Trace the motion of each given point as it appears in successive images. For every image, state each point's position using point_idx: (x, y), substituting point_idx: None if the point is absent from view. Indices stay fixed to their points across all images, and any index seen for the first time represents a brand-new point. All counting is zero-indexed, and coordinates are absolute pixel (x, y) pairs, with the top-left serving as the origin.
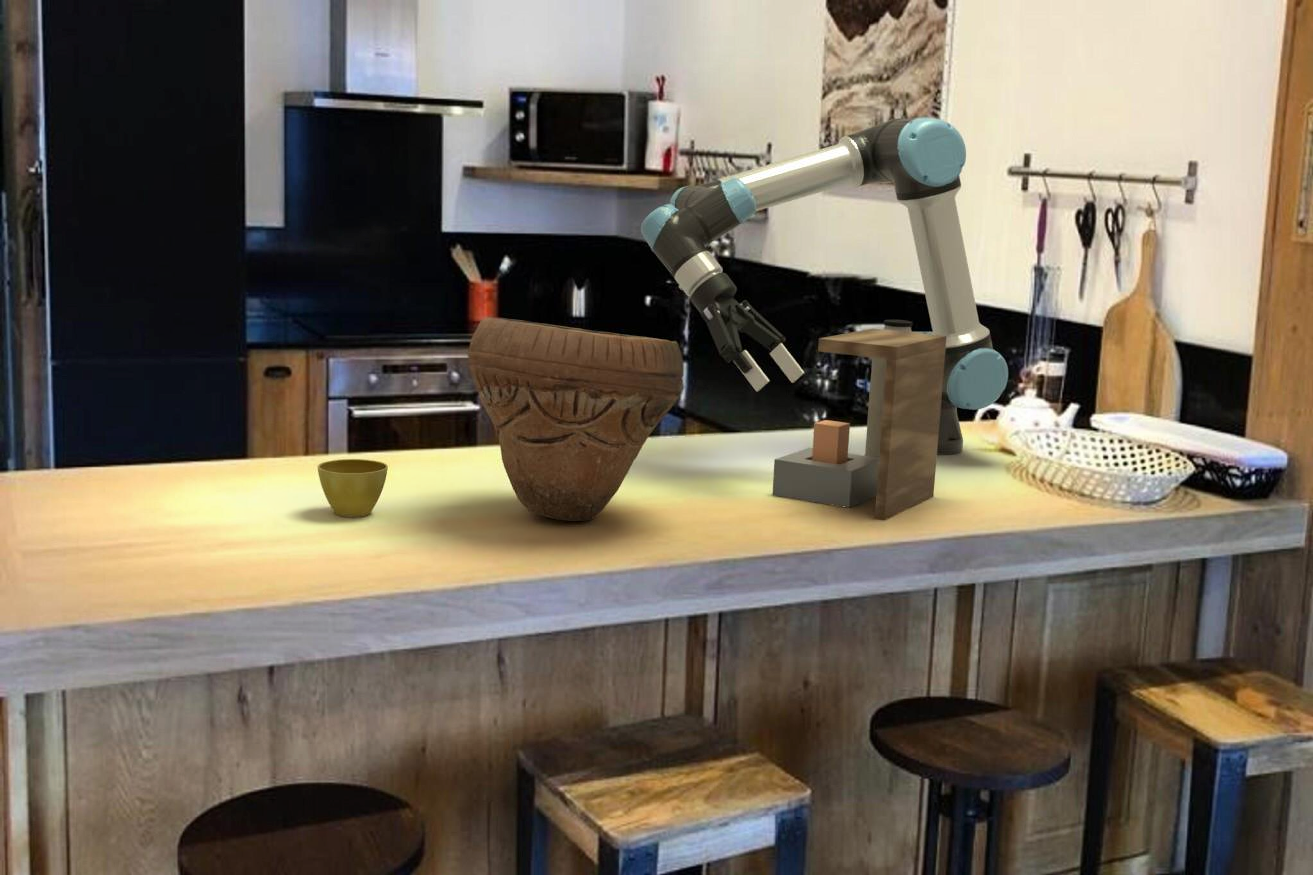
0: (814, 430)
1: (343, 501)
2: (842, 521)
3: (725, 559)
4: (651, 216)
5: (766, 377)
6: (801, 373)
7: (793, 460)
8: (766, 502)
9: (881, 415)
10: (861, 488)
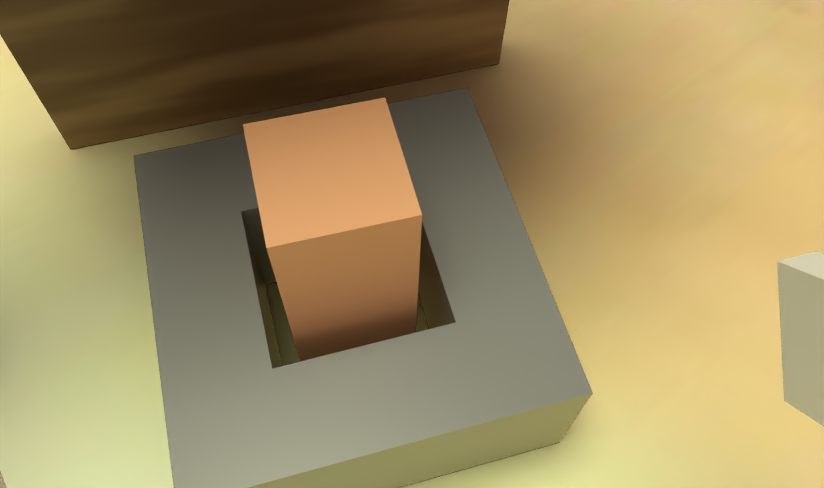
0: (420, 233)
1: None
2: (610, 91)
3: None
4: None
5: (819, 268)
6: (2, 477)
7: (526, 327)
8: (665, 372)
9: None
10: None
